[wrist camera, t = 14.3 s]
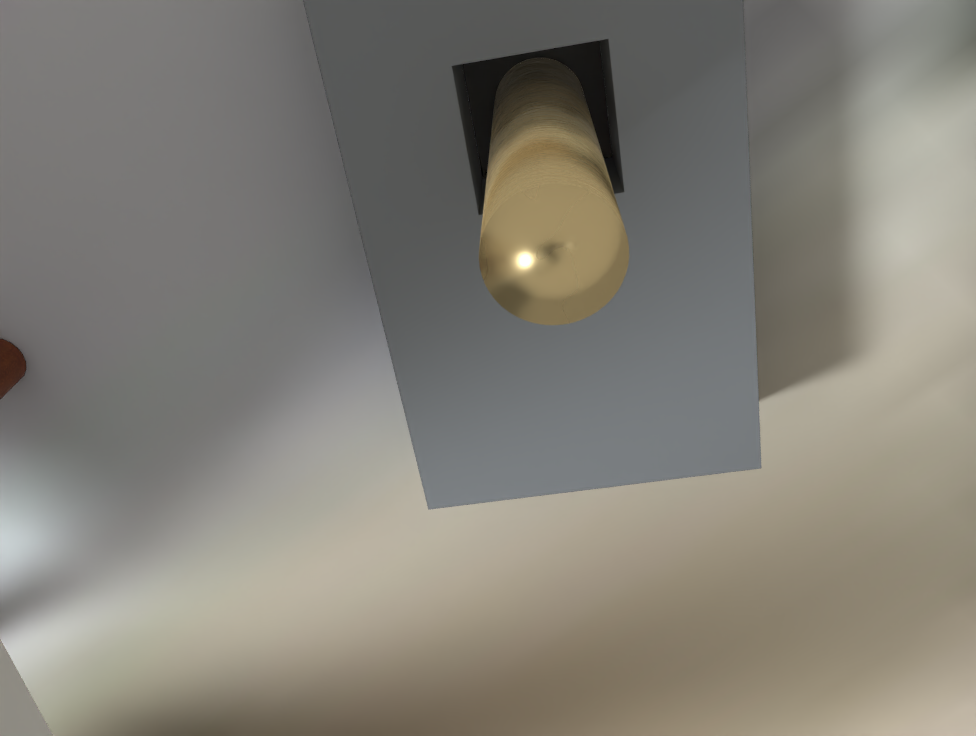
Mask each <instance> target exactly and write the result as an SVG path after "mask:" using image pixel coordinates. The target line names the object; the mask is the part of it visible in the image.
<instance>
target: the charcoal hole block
mask: <svg viewBox="0 0 976 736" xmlns="http://www.w3.org/2000/svg"><path fill="white" fill-rule="evenodd" d="M303 2H304V6H305V10H306V14H307V18H308V22H309V26H310V30H311V34H312V38H313V42H314V46H315V50H316V54H317V59H318V63H319V67H320V71H321V75H322V79H323V83H324V87H325V91H326V95H327V99H328V103H329V107H330V111H331V115H332V119H333V124H334V128H335V132H336V136H337V140H338V144H339V148H340V152H341V156H342V160H343V164H344V168H345V172H346V176H347V180H348V185H349V189H350V193H351V197H352V201H353V205H354V209H355V213H356V217H357V221H358V225H359V229H360V233H361V237H362V241H363V245H364V250H365V254H366V258H367V262H368V266H369V270H370V274H371V278H372V282H373V286H374V290H375V294H376V298H377V302H378V306H379V310H380V315H381V319H382V323H383V327H384V331H385V335H386V339H387V343H388V347H389V351H390V355H391V359H392V363H393V367H394V371H395V375H396V380H397V384H398V388H399V392H400V396H401V400H402V404H403V408H404V412H405V416H406V420H407V424H408V428H409V432H410V436H411V441H412V445H413V449H414V453H415V457H416V461H417V465H418V469H419V473H420V477H421V481H422V485H423V489H424V493H425V497H426V501H427V506H428V509H436V508H444V507H453V506H461V505H469V504H477V503H485V502H493V501H501V500H509V499H517V498H525V497H533V496H541V495H549V494H558V493H566V492H574V491H582V490H590V489H598V488H606V487H614V486H622V485H630V484H638V483H646V482H654V481H662V480H671V479H679V478H687V477H695V476H703V475H711V474H719V473H727V472H735V471H743V470H751V469H759V468H761V447H760V422H759V396H758V370H757V344H756V319H755V293H754V267H753V242H752V216H751V190H750V165H749V139H748V113H747V87H746V62H745V36H744V10H743V0H303ZM599 40H600V49H601V59H602V68H603V77H604V86H605V95H606V105H607V114H608V123H609V132H610V141H611V151H612V157H611V158H605V159H604V162H605V165H606V168H607V171H608V175H609V178H610V181H611V185H612V188H613V191H614V195H615V198H616V201H617V204H618V208H619V211H620V214H621V218H622V221H623V224H624V228H625V231H626V234H627V238H628V243H629V263H628V268H627V272H626V275H625V278H624V280H623V283H622V285H621V286H620V288H619V290H618V291H617V293H616V294H615V295H614V297H613V298H612V299H611V300H610V301H609V302H608V303H607V304H606V305H605V306H604V307H603V308H601V309H600V310H599V311H597V312H596V313H594V314H592V315H591V316H589V317H587V318H584V319H582V320H580V321H576V322H573V323H569V324H564V325H542V324H536V323H532V322H528V321H525V320H523V319H521V318H518V317H516V316H515V315H513V314H511V313H509V312H508V311H507V310H506V309H504V308H503V307H502V306H501V305H500V304H499V303H498V302H497V301H496V300H495V299H494V298H493V296H492V295H491V294H490V292H489V291H488V289H487V287H486V285H485V283H484V280H483V278H482V275H481V271H480V265H479V246H480V236H481V226H482V217H483V207H484V198H485V188H486V178H487V177H486V178H483V177H482V172H481V166H480V160H479V155H478V149H477V143H476V138H475V132H474V126H473V121H472V115H471V109H470V104H469V98H468V92H467V87H466V81H465V75H464V70H463V64H465V63H471V62H477V61H483V60H489V59H494V58H500V57H506V56H512V55H518V54H523V53H529V52H535V51H541V50H546V49H552V48H558V47H564V46H570V45H575V44H581V43H587V42H593V41H599Z"/></svg>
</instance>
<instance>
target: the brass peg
mask: <svg viewBox="0 0 976 736" xmlns="http://www.w3.org/2000/svg"><path fill="white" fill-rule="evenodd" d="M628 263H629V243H628V238H627V234H626V231H625V228H624V224H623V221H622V218H621V214H620V211H619V208H618V204H617V201H616V198H615V195H614V191H613V188H612V185H611V181H610V178H609V175H608V171H607V168H606V165H605V162H604V158H603V155H602V152H601V148H600V145H599V142H598V138H597V135H596V132H595V128H594V125H593V122H592V119H591V115H590V112H589V109H588V105H587V102H586V99H585V95H584V92H583V89H582V86H581V84H580V81H579V80H578V78H577V76H576V75H575V74H574V73H573V71H572V70H571V69H569V68H568V67H567V66H566V65H564V64H563V63H561V62H559V61H557V60H554V59H550V58H541V57H539V58H531V59H527V60H524V61H522V62H520V63H518V64H516V65H515V66H513V67H512V68H511V69H510V70H509V71H508V72H507V73H506V74H505V75H504V77H503V78H502V80H501V81H500V83H499V85H498V88H497V91H496V95H495V102H494V111H493V121H492V130H491V140H490V150H489V159H488V169H487V178H486V188H485V198H484V207H483V217H482V226H481V236H480V246H479V265H480V271H481V275H482V278H483V280H484V283H485V285H486V287H487V289H488V291H489V292H490V294H491V295H492V296H493V298H494V299H495V300H496V301H497V302H498V303H499V304H500V305H501V306H502V307H503V308H504V309H506V310H507V311H508V312H509V313H511V314H513V315H515V316H516V317H518V318H521V319H523V320H525V321H528V322H532V323H536V324H542V325H564V324H569V323H573V322H576V321H580V320H582V319H584V318H587V317H589V316H591V315H592V314H594V313H596V312H597V311H599V310H600V309H601V308H603V307H604V306H605V305H606V304H607V303H608V302H609V301H610V300H611V299H612V298H613V297H614V295H615V294H616V293H617V291H618V290H619V288H620V286H621V285H622V283H623V280H624V278H625V275H626V272H627V268H628Z"/></svg>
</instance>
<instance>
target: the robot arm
mask: <svg viewBox="0 0 976 736" xmlns="http://www.w3.org/2000/svg"><path fill="white" fill-rule="evenodd" d="M0 736H53V734H52V732H51V730H50V729H49V727H48V725H47V723H46V721H45V720H44V718H43V716H42V714H41V712H40V710H39V709H38V707H37V705H36V703H35V701H34V700H33V698H32V696H31V694H30V692H29V690H28V689H27V687H26V685H25V683H24V681H23V680H22V678H21V676H20V674H19V672H18V671H17V669H16V667H15V665H14V663H13V661H12V660H11V658H10V656H9V654H8V652H7V651H6V649H5V647H4V645H3V643H2V641H1V640H0Z"/></svg>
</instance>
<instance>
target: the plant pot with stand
mask: <svg viewBox="0 0 976 736" xmlns="http://www.w3.org/2000/svg"><path fill="white" fill-rule="evenodd" d="M25 371H26V361H25V359H24V357H23V354H22V353H21V352H20V351H19V349H18V348H17V347H15V346H14V345H13V344H11V343H10V342H8V341H5V340H3V339H0V399H1V398H2V397H3V396H4V395H5V394H6V393H7V392H8V391H9V390H10V389H11V388H12V387H13V386H14V385H15V384H16V383H17V382H18V381H19V380H20V379H21V378H22V377H23V376H24V374H25Z"/></svg>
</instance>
